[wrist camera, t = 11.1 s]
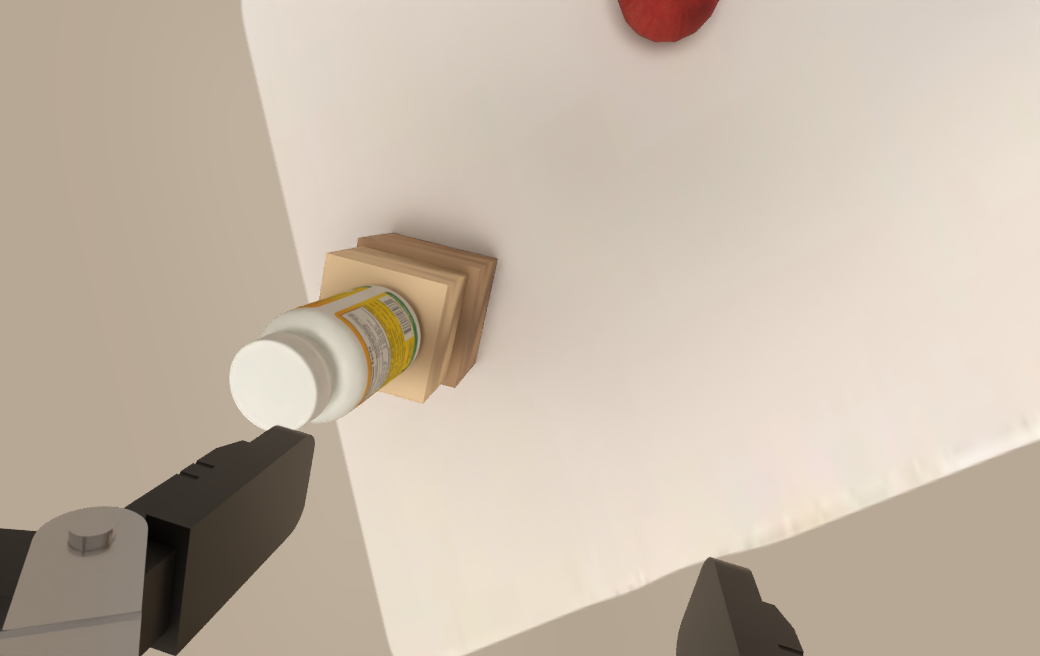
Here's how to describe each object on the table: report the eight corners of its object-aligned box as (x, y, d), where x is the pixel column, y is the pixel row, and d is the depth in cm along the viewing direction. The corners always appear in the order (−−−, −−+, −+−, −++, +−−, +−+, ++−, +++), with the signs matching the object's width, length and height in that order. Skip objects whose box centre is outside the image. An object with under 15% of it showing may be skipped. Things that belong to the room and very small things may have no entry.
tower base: (391, 232, 43) (358, 237, 38) (497, 258, 43) (479, 268, 37) (374, 336, 45) (339, 356, 39) (475, 363, 45) (454, 387, 39)
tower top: (362, 246, 38) (326, 253, 33) (469, 273, 37) (447, 285, 32) (345, 349, 39) (308, 371, 34) (446, 377, 39) (422, 403, 34)
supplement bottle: (433, 301, 32) (345, 349, 23) (411, 390, 34) (320, 468, 24) (342, 270, 33) (222, 305, 24) (325, 358, 34) (206, 423, 25)
